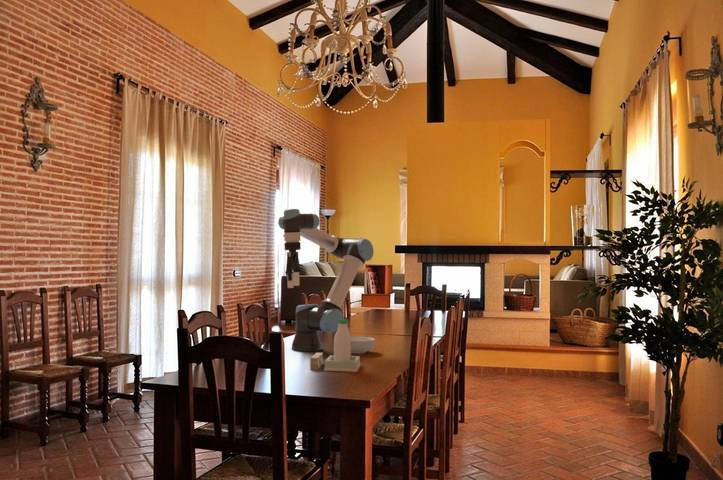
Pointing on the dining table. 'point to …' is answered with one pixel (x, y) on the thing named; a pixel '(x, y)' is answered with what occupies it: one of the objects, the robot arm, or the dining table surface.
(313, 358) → the board
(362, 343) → the cereal bowl
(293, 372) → the dining table surface
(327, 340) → the dining table surface
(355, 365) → the cradle
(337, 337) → the milk bottle
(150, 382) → the dining table surface
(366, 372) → the dining table surface
